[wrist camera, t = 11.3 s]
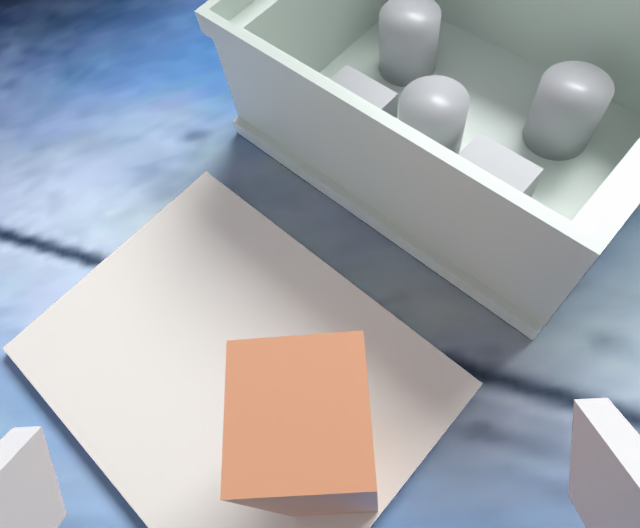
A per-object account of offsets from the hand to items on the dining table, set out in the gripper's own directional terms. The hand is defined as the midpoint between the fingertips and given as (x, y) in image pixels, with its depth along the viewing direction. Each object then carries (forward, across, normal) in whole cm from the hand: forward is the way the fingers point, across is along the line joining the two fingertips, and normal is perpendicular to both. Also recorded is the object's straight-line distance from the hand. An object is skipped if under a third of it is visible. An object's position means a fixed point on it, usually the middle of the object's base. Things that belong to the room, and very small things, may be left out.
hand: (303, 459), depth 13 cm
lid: (+8, -4, -2) cm, 9 cm away
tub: (+16, +7, +6) cm, 18 cm away
